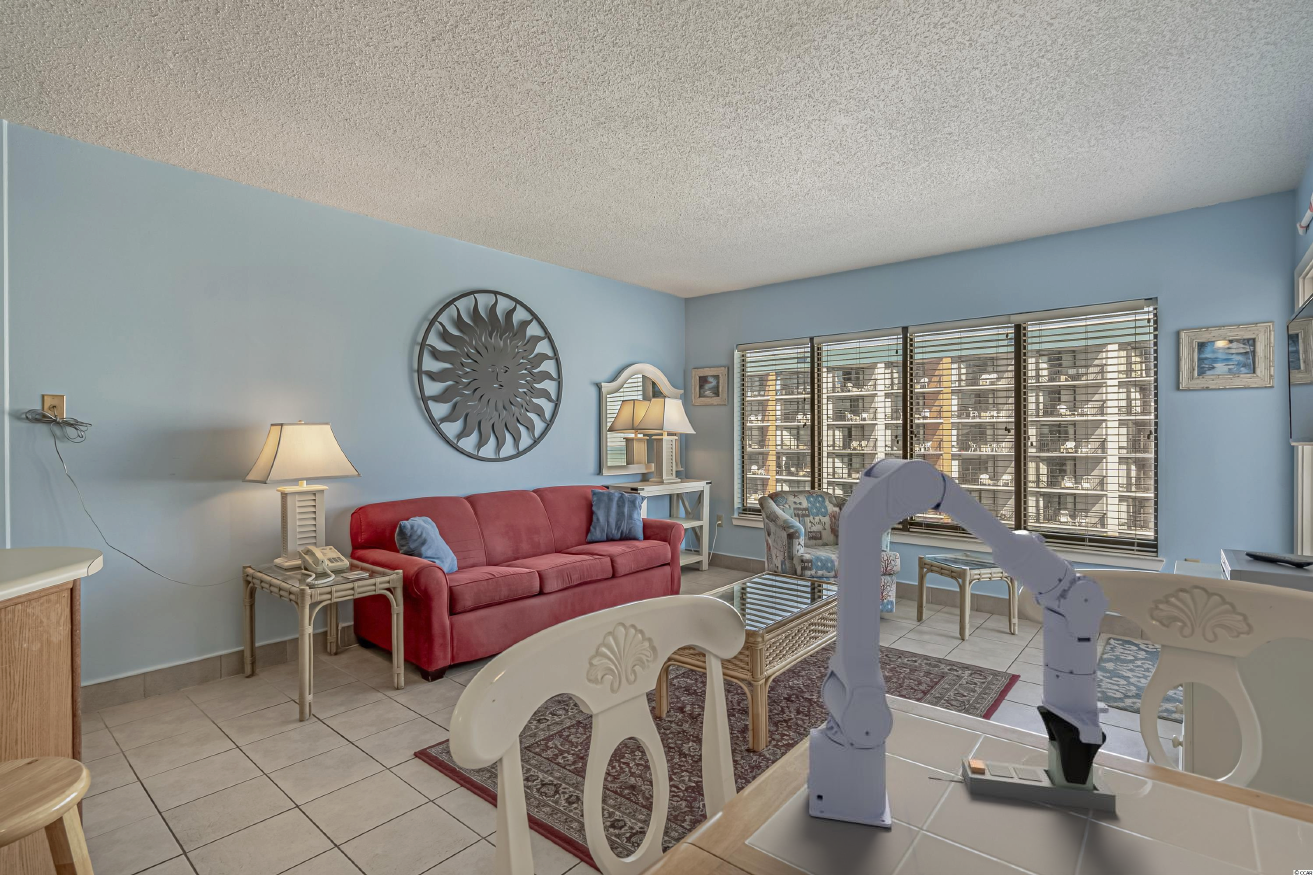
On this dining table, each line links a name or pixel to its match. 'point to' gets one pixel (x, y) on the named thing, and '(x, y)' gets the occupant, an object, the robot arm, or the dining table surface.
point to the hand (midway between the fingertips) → (1070, 774)
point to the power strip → (1032, 785)
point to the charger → (1057, 773)
